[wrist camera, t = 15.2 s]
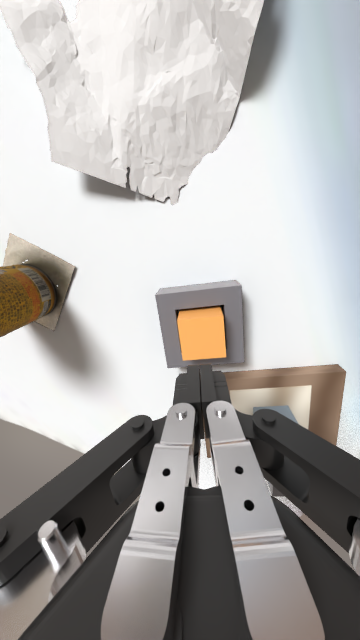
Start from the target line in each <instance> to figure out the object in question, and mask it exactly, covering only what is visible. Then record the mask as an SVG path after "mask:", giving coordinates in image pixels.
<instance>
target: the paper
mask: <svg viewBox="0 0 360 640" xmlns="http://www.w3.org/2000/svg"><path fill="white" fill-rule="evenodd" d="M263 3H264V0H79V1H78V3H77V5H76V18H75V20H73V21H71V22H69V20H68V19H67V17H66V14H65V11H64V8H63V6H62V4H61V2H60V1H59V0H0V10H1V12H2V14H3V17H4V20H5V22H6V25H7V28H9V29H10V31H11V32H12V34H13V37H14V40H15V44H16V46H17V48H18V49H19V51H20V53H21V55H22V57H23V58H24V59H25V61H26V63H27V65H28V66H29V67H30V68H31V70H32V72H33V73H34V75H35V77H36V83H37V85H38V88H39V90H40V92H41V94H42V97H43V100H44V104H45V107H46V112H47V117H48V134H49V140H50V151H51V159H52V162H55V163H58V164H61V165H63V166H66V167H69V168H72V169H74V170H77V171H80V172H83V173H85V174H88V175H91V176H94V177H96V178H99V179H102V180H105V181H107V182H110V183H113V184H116V185H119V186H121V187H124V188H126V184H125V183H126V182H127V177H126V174H127V172H128V171H127V167H129V168H130V174H129V179H130V183H129V184H130V187H131V190H132V191H135V192H136V189H137V187H138V190H139V193H140V194H143V195H145V196H148V197H151V198H152V195H154V197H155V199H156V200H159V201H162V202H164V201H165V198H166V197H170V200H171V205H174V204H176V203H178V196H179V188H181V186H184V184H185V185H187V184H188V178H189V176H190V174H191V172H192V171H193V169H194V168H195V167H196V166H197V165H198V164H199V163H200V162H201V160H202V157H203V156H205V155H206V154H208V153H213V152H214V151H216V150H217V148H218V147H219V145H220V144H221V142H222V141H223V140H224V139H225V138H226V135H227V134H228V132H229V129H230V126H231V123H232V119H233V116H234V113H235V110H236V107H237V104H238V101H239V98H240V94H241V90H242V85H243V81H244V77H245V73H246V68H247V64H248V60H249V56H250V52H251V46H252V43H253V40H254V35H255V31H256V27H257V24H258V20H259V17H260V14H261V10H262V7H263Z"/></svg>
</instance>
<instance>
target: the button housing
mask: <svg viewBox="0 0 360 640" xmlns="http://www.w3.org/2000/svg"><path fill="white" fill-rule="evenodd" d="M155 296H156V302H157V308H158V314H159V320H160V326H161V331H162V337H163V343H164V349H165V355H166V361H167V367H168V368H176V367H188V365H198V364H199V366H200V364H211V365H215V364H229V363H242V362H244V340H243V314H242V287H241V284H240V283H239V282H237V281H236V280H231V281H222V282H213V283H205V284H196V285H187V286H179V287H170V288H162V289H160V290H159V291H158V292H157V293H156V295H155ZM215 305H221V307H222V313H223V316H224V331H225V346H226V357H223V358H210V359H198V360H185V361H183V359H182V351H181V344H180V337H179V330H178V323H177V319H178V315H179V310H178V309H187V308H196V307H206V306H215Z"/></svg>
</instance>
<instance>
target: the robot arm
mask: <svg viewBox="0 0 360 640" xmlns="http://www.w3.org/2000/svg"><path fill="white" fill-rule="evenodd" d="M200 377H201V378H200ZM203 418H204V420H203ZM204 427H205V436H206V439H207V438H209V442H210V451H211V458H212V464H213V470H214V476H215V482H216V487H212V488H209V489H205V490H203V489H199V488H198V487H199V468H200V446H201V444H200V439H204ZM130 459H131V460H130ZM128 460H130V461H129V462H128V463H127V464H126V465H125V466H123V465H124V464H125V463H126V462H127V461H128ZM122 466H123V467H122ZM121 467H122V468H121ZM120 468H121V469H120ZM119 469H120V470H119ZM118 470H119V471H118ZM117 471H118V472H117ZM115 472H117V473H116V474H115V475H114V473H115ZM113 475H114V476H113ZM112 476H113V477H112ZM264 478H265V479H266V480H267V481H268V482H270V483H271V484H272V485H273V486H274V487H275V488H276V489H277V490H279V491H280V492H281V493H282V494H283V495H284V496H285V497H286V498H288V499H289V500H290V501H291V502H292V503H293V504H294V505H295V506H296V507H298V508H299V509H300V510H301V511H302V512H303V513H304V514H305V515H307V516H308V517H309V518H310V519H311V520H312V521H313V522H314V523H316V524H317V525H318V526H319V527H320V528H321V529H322V530H323V531H325V532H326V533H327V534H328V535H329V536H330V537H331V538H332V539H334V540H335V541H336V542H337V543H338V544H339V545H340V546H341V547H343V548H344V549H345V550H346V551H347V552H348V553H349V556H350V560H351V563H352V565H353V568H354V570H355V571H356V572H355V571H354V570H352V568H351V567H350V566H349V565H348V564H347V563H345V561H343V560H342V559H341V558H340V557H339V556H338V555H337V554H336V553H335V552H334V551H333V550H332V549H331V548H330V547H329V546H328V545H327V544H326V543H325V542H324V541H323V540H322V539H321V538H320V537H319V536H318V535H316V533H315V532H314V531H313V530H311V529H310V528H309V527H308V526H307V525H306V524H305V523H304V522H303V521H302V520H301V519H300V518H299V517H298V516H297V515H296V514H295V513H294V512H293V511H292V510H291V509H290V508H289V507H287V506H286V505H285V504H283V503H282V502H281V501H279V500H278V499H276V498H274V497H272V496H270V493H269V491H268V488H267V485H266V483H265V480H264ZM140 494H141V495H140ZM139 495H140V499H139V501H137V502H136V503H135V504H134V505H133V506H131V507H130V508H129V509H128V510H127V512H126V513H125V514H124V515H123V516H122V517H121V518H120V520H119V521H118V522H117V523H116V524H115V525H114V527H113V528H112V529H111V530H110V531H109V533H108V534H107V535H106V536H105V537H104V538H103V540H102V541H101V542H100V543H99V545H97V547H96V548H95V549H94V550H93V551H92V552H91V554H90V555H89V556H88V557H87V558H86V560H85V555H86V553H87V552H88V551H89V550H90V549H91V548H92V547H93V545H94V544H95V543H96V542H97V541H98V540H99V539H100V538H101V537H102V536H103V534H104V533H105V532H106V531H107V530H108V529H109V528H110V527H111V526H112V525H113V523H114V522H115V521H116V520H117V519H118V518H119V517H120V515H122V513H123V512H124V511H125V510H126V509H127V508H128V507H129V506H130V505H131V504H132V502H133V501H134V500H135V499H136V498H137V497H138V496H139ZM0 640H360V460H359V459H357V458H356V457H354V456H352V455H351V454H349V453H347V452H345V451H344V450H342V449H340V448H339V447H337V446H335V445H333V444H332V443H330V442H328V441H327V440H325V439H323V438H321V437H320V436H318V435H316V434H315V433H313V432H311V431H309V430H308V429H306V428H304V427H303V426H301V425H299V424H297V423H296V422H294V421H292V420H291V419H289V418H287V417H285V416H284V415H282V414H280V413H279V412H277V411H274V410H271V409H260V410H257V411H256V412H255V413H254V414H253V415H248V414H244V413H241V412H239V411H237V410H236V409H235V408H234V407H233V405H232V403H231V399H230V394H229V390H228V386H227V382H226V378H225V375H224V374H223V373H222V372H221V371H212V366H211V364H200V369H199V364H198V365H188V368H187V373H183V374H179V376H178V377H177V378H176V384H175V392H174V399H173V406H172V407H171V408H170V409H169V411H168V414H167V416H165V417H163V418H161V419H158V420H155V421H152V419H151V418H150V417H148V416H146V415H138V416H135V417H133V418H131V419H130V420H128V421H127V422H126V423H124V424H123V425H122V426H121V427H119V428H118V429H117V430H115V431H114V432H113V433H111V434H110V435H109V436H108V437H106V438H105V439H104V440H102V441H101V442H100V443H99V444H97V445H96V446H95V447H93V448H92V449H91V450H89V451H88V452H87V453H86V454H84V455H83V456H82V457H80V458H79V459H78V460H77V461H75V462H74V463H73V464H71V465H70V466H69V467H68V468H66V469H65V470H64V471H62V472H61V473H60V474H59V475H57V476H56V477H55V478H53V479H52V480H51V481H49V482H48V483H47V484H45V485H44V486H43V487H42V488H40V489H39V490H38V491H37V492H35V493H34V494H33V495H31V496H30V497H29V498H27V499H26V500H25V501H23V502H22V503H21V504H20V505H18V506H17V507H16V508H14V509H13V510H12V511H11V512H9V513H8V514H7V515H6V516H4V517H3V518H1V519H0Z"/></svg>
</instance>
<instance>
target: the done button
mask: <svg viewBox="0 0 360 640" xmlns="http://www.w3.org/2000/svg"><path fill="white" fill-rule="evenodd" d="M177 323H178V330H179V337H180V344H181V351H182V359H183V361H185V360H198V359H210V358H223V357H226V346H225V331H224V316H223V313H222V311H221V308H220V305H216V306H206V307H197V308H187V309H180V311H179V315H178V319H177Z"/></svg>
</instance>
